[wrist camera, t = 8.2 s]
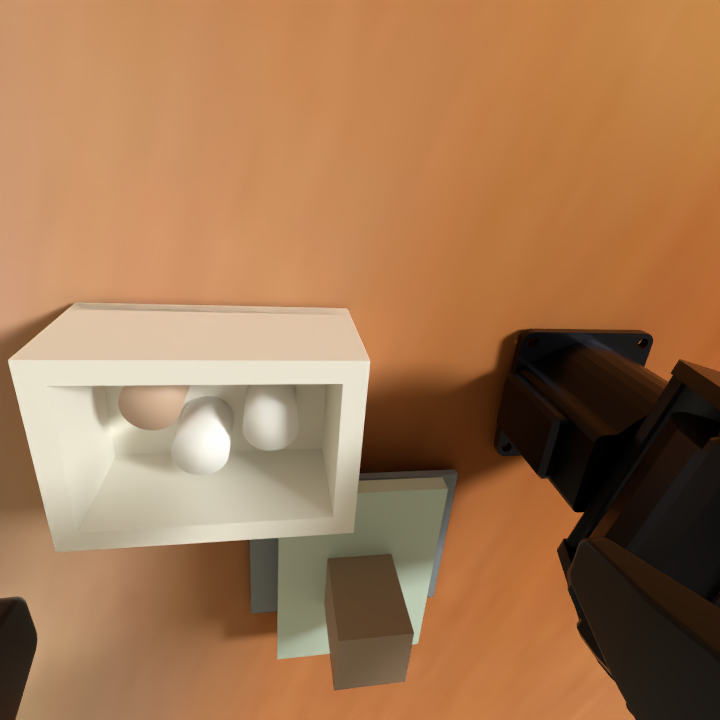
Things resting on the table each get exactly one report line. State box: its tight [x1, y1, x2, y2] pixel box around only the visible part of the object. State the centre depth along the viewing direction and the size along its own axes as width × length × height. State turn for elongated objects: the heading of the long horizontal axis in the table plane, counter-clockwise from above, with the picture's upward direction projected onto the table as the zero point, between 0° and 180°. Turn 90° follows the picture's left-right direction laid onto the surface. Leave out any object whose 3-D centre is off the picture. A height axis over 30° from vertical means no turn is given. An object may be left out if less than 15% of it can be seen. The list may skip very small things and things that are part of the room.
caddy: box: [8, 302, 370, 552], centre depth 17 cm, size 10×7×5 cm
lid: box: [277, 477, 448, 690], centre depth 22 cm, size 10×7×6 cm
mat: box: [250, 469, 458, 614], centre depth 24 cm, size 10×8×1 cm
